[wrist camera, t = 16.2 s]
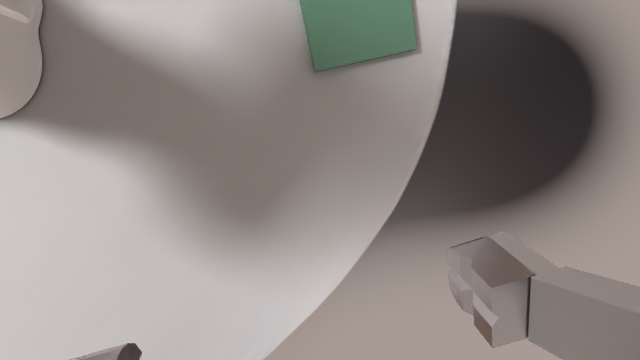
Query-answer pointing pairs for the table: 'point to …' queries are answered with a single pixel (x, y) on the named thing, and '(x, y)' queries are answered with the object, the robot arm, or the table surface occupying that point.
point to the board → (357, 30)
